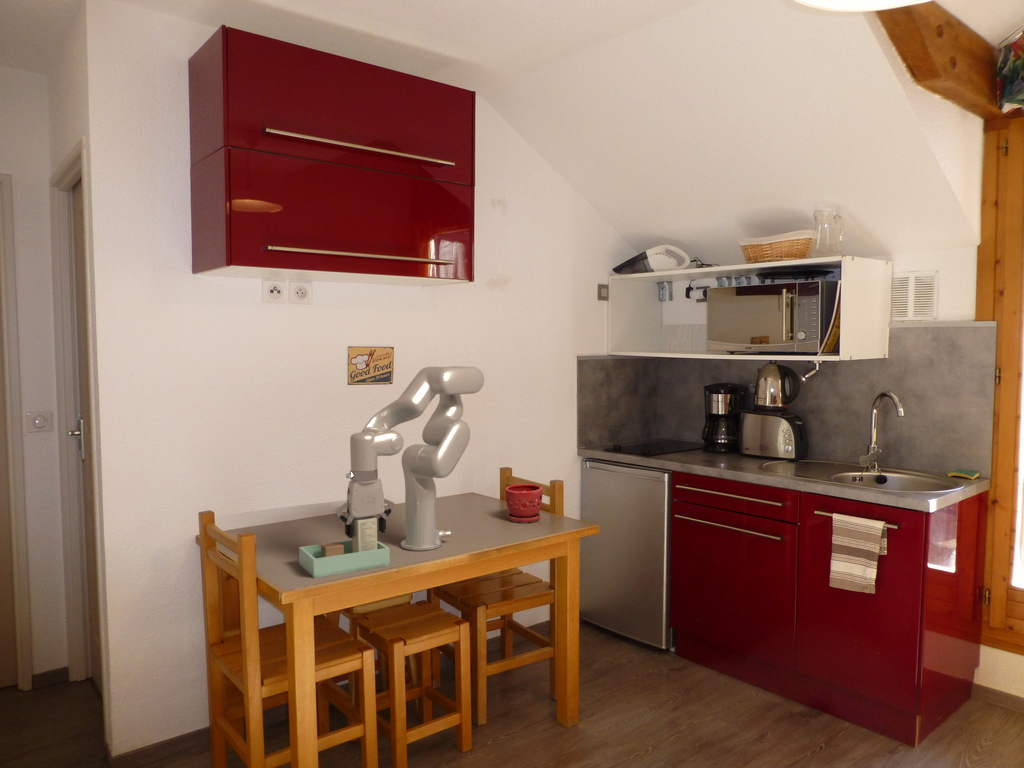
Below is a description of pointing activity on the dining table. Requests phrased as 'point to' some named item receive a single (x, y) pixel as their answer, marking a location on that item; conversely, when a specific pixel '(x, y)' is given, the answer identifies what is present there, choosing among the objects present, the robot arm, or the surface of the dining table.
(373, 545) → the skincare box
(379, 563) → the tote
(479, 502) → the dining table surface
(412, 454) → the robot arm
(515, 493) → the plant pot
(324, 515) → the dining table surface
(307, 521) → the dining table surface
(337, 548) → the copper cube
